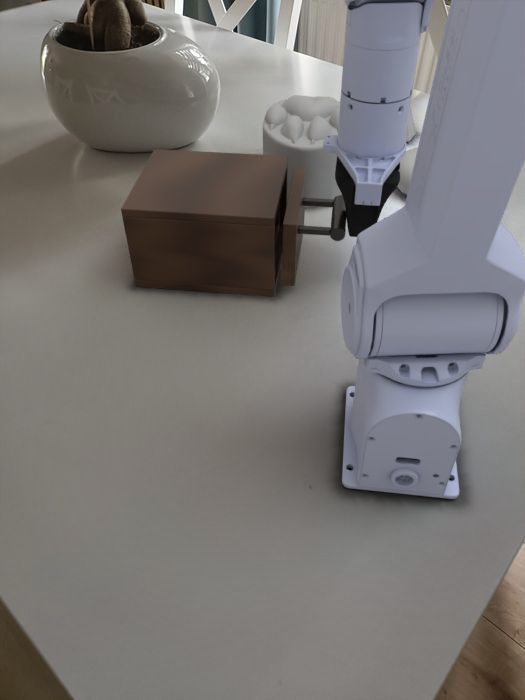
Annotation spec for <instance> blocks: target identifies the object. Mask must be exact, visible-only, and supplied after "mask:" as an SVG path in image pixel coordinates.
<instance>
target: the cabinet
mask: <svg viewBox="0 0 525 700" xmlns="http://www.w3.org/2000/svg"><path fill="white" fill-rule="evenodd" d="M287 193H288V156H280V155H263V154H260V153H259V154H256V153H237V152H220V151H219V152H217V151H198V150H179V149H159V148H158V149H157V148H154V149H153V151H152V153H151V155H150V156H149V158H148V160H147V161H146V163H145V165H144V167H143V169H142V170H141V172H140V174H139V176H138V177H137V179H136V181H135V182H134V185H133V186H132V188H131V189H130V192H129V193H128V196H127V197H126V199H125V201H124V202H123V204H122V206H121V208H120V212H121V216H122V223H123V229H124V232H125V238H126V244H127V248H128V253H129V259H130V264H131V269H132V274H133V279H134V281H133V282H134V285H135V287H137V288H138V287H139V288H154V289H167V290H178V291H179V290H180V291H194V292H206V293H207V292H208V293H220V294H233V295H246V296H259V297H260V296H261V297H275V294H276V291H277V285H278V279H279V274H280V268H281V262H282V255H283V221H284V216H285V211H286V206H287ZM279 202H280V228H279V233H278V238H277V242H276V247H275V220H276V216H277V211H278V206H279Z"/></svg>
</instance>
